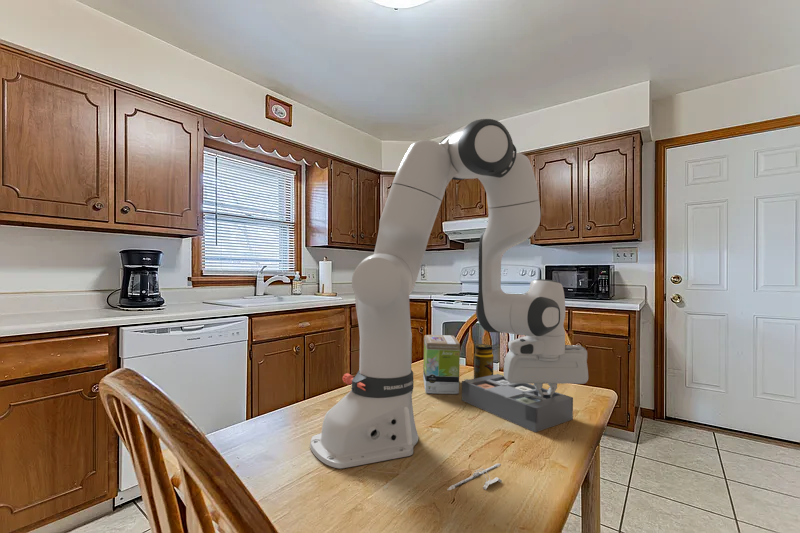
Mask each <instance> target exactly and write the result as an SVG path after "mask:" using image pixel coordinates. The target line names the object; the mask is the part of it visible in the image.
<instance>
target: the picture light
mask: <svg viewBox="0 0 800 533" xmlns="http://www.w3.org/2000/svg"><path fill="white" fill-rule="evenodd" d="M501 465H502V463H495V464H494V465H492V466H490V467H488V468H485V469H484V468H482V470H481V468H479V469H477V470H475V471H474V473H473V474H472V475H471V476H469V477H467V478H465V479H462V480H461V481H459V482H457V483H454V484H452V485H450V486H449V487H448V488H447V491H451V490H455V489H456V488H458V487H460V486H462V485H464V484H466V483H468V482H470V481H472V480H474V479H476V478H478V477H480V476H484V478H485V483H484V485H483V486H482V488H483V490H485V491H487V488H488V487H489V485H492V484H494V483H496V482H499V483H503V481H502V479H501V478H499V477H497V476H496V477H494V478H493V479H491V478H490V475H489V473H488V472H491V471H493V470H494V469H495V470H496V469H497V468H499V467H500V466H501ZM486 474H487V477H488V480H487V477H486Z"/></svg>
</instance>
